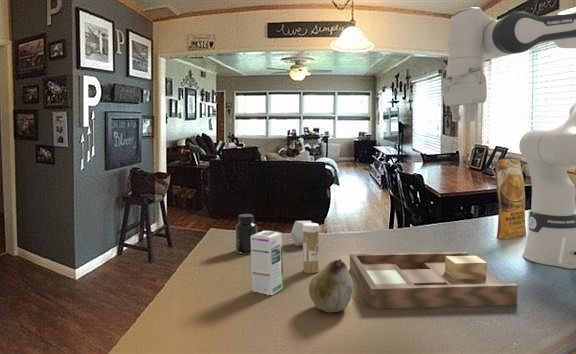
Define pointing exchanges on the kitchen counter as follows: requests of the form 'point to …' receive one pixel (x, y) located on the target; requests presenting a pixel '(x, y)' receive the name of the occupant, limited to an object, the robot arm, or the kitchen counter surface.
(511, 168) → the pancake mix bag
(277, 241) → the syrup box
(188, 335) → the kitchen counter surface
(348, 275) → the fruit
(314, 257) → the sprinkles bottle
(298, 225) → the die
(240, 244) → the supplement bottle
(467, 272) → the maple block
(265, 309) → the kitchen counter surface
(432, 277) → the box
